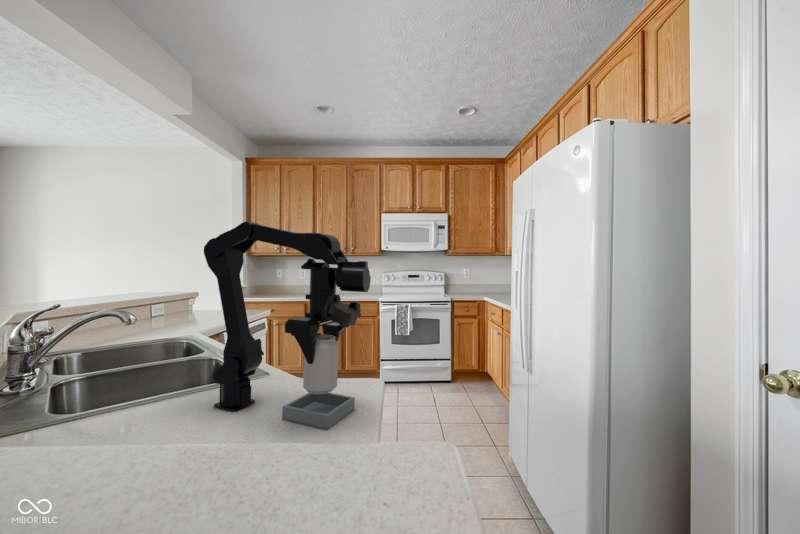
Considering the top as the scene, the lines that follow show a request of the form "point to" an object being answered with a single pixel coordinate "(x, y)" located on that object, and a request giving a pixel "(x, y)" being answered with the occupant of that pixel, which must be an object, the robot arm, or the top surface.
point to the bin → (318, 410)
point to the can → (322, 366)
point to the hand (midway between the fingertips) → (320, 359)
